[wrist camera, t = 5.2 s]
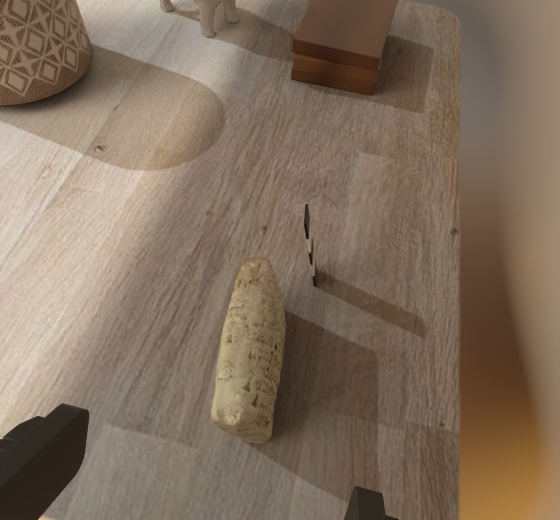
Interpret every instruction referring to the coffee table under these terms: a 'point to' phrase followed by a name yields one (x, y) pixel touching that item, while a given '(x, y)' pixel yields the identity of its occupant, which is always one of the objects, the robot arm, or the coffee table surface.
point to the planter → (40, 49)
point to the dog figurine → (208, 13)
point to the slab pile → (342, 43)
